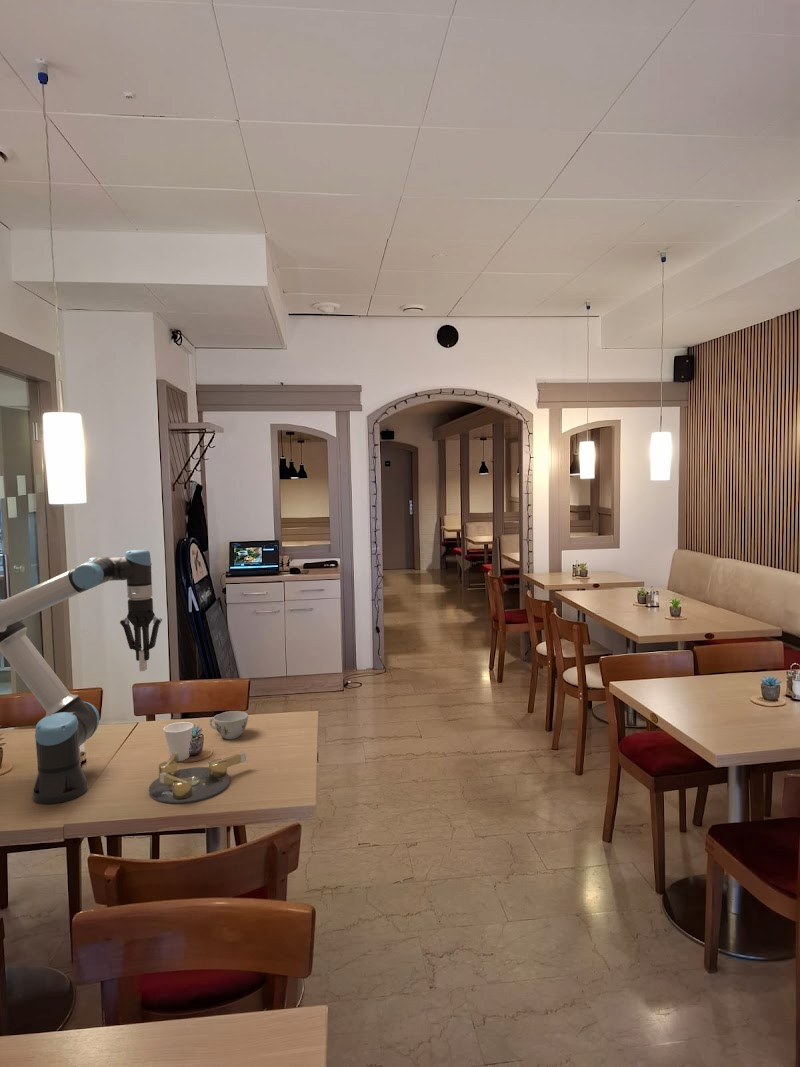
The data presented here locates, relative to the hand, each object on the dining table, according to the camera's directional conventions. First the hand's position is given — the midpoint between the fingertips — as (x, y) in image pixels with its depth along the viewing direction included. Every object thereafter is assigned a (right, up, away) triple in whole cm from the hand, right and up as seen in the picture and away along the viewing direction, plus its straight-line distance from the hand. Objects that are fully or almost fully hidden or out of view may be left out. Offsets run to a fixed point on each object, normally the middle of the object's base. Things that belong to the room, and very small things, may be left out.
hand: (143, 670), depth 229 cm
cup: (+8, -33, +14) cm, 37 cm away
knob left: (+10, -33, -1) cm, 34 cm away
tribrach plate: (+18, -34, -9) cm, 40 cm away
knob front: (+15, -34, -16) cm, 40 cm away
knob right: (+28, -32, -2) cm, 43 cm away
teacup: (+20, -31, +33) cm, 50 cm away
